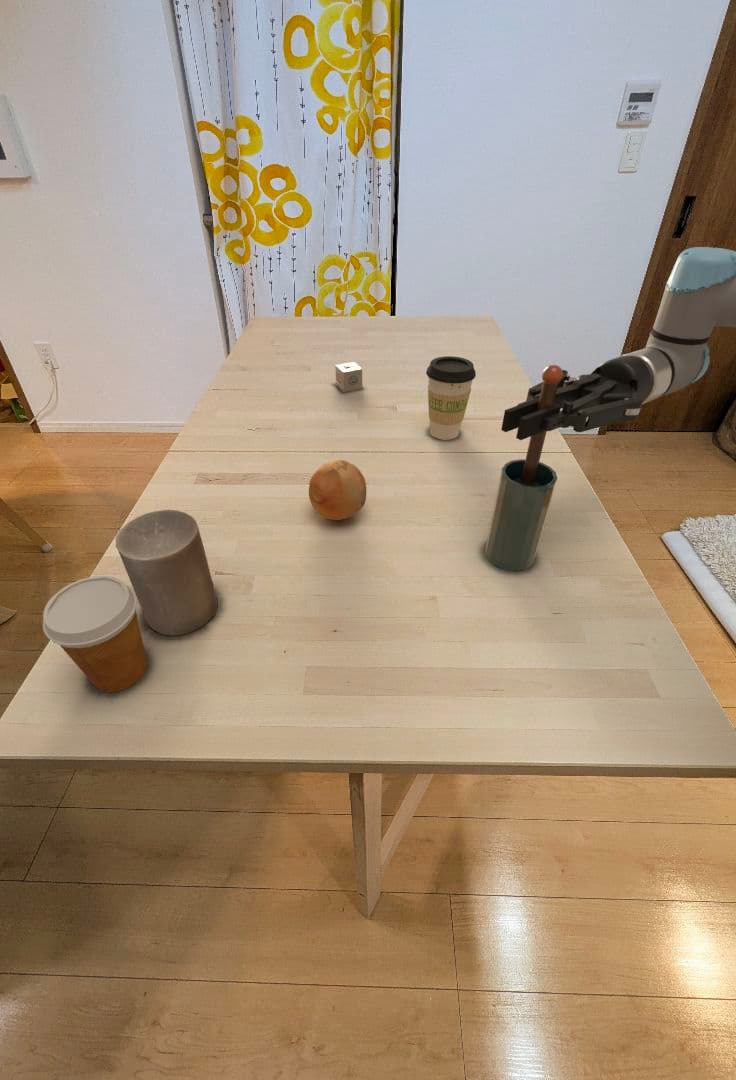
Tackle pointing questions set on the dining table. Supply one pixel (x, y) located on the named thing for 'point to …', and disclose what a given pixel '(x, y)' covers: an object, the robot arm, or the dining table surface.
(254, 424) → the dining table surface
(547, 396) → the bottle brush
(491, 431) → the dining table surface
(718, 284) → the robot arm
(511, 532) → the green cylindrical holder
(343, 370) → the dice cube
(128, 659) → the disposable coffee cup
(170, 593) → the pillar candle
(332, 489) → the onion
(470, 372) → the coffee cup
